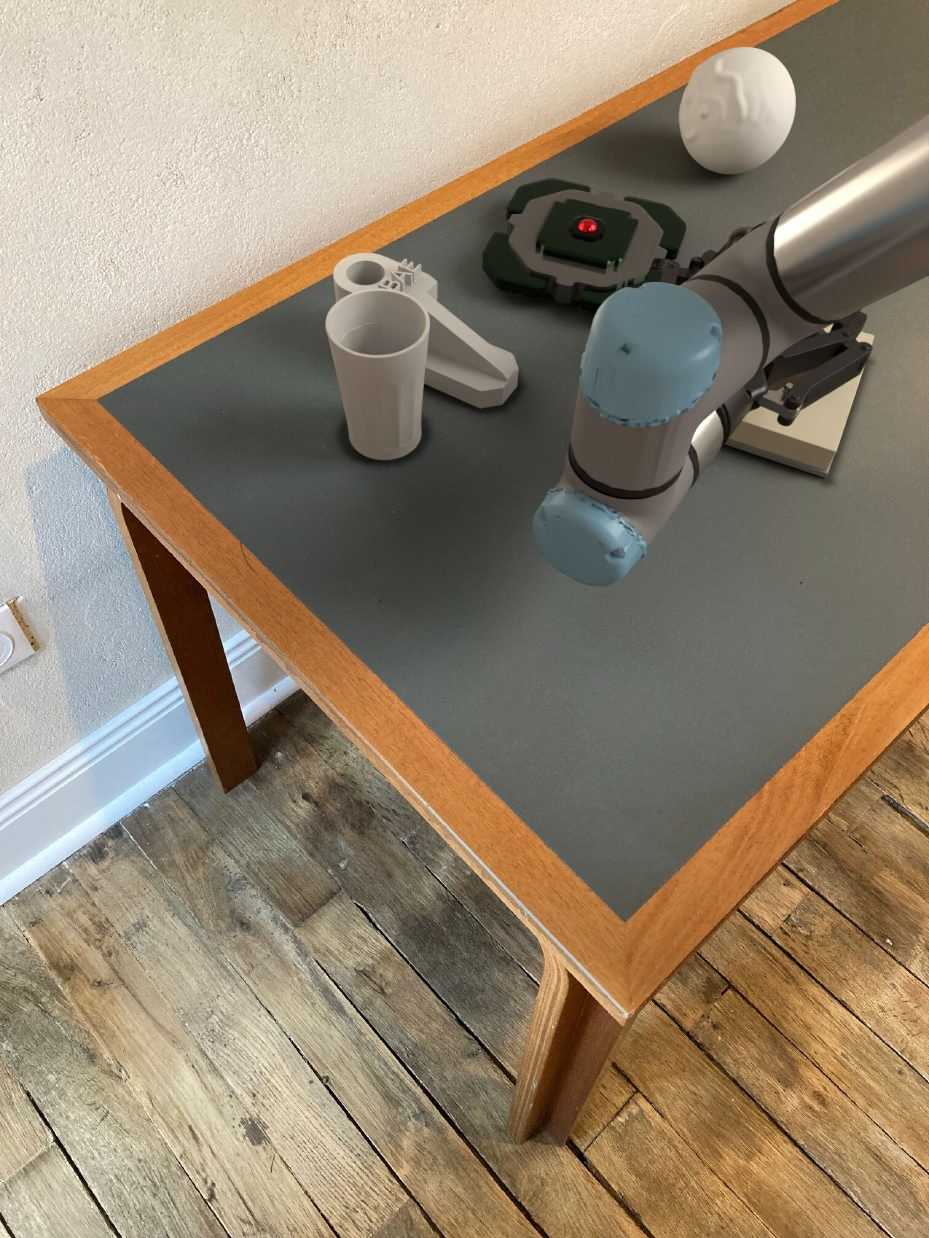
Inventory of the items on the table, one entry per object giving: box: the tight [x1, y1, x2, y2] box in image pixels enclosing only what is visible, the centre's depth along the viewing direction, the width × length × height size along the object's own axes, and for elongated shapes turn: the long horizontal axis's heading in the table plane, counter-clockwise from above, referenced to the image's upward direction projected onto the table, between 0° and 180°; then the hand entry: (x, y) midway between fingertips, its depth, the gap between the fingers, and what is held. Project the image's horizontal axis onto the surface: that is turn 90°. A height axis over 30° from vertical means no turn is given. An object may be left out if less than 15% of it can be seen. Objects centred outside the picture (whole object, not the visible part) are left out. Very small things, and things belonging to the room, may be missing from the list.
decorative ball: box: [678, 46, 797, 175], centre depth 100 cm, size 12×12×12 cm
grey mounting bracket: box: [332, 252, 519, 409], centre depth 84 cm, size 6×18×8 cm, turn 59°
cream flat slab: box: [724, 324, 875, 479], centre depth 85 cm, size 18×16×3 cm
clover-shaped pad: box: [481, 177, 687, 315], centre depth 94 cm, size 18×18×5 cm
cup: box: [325, 288, 430, 461], centre depth 77 cm, size 8×8×12 cm
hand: (800, 267), depth 80 cm, fingers closed on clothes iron, 11 cm apart
